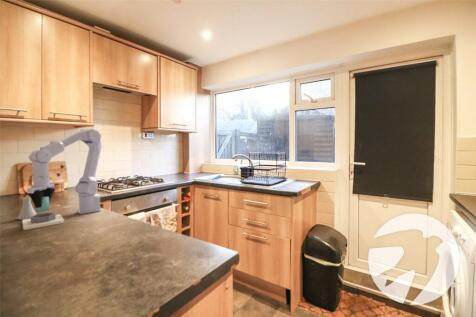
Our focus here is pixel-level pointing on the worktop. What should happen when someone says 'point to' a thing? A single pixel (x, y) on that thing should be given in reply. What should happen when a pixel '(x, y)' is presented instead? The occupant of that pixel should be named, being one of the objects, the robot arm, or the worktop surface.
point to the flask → (26, 209)
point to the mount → (42, 220)
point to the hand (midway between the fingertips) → (42, 206)
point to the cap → (44, 204)
